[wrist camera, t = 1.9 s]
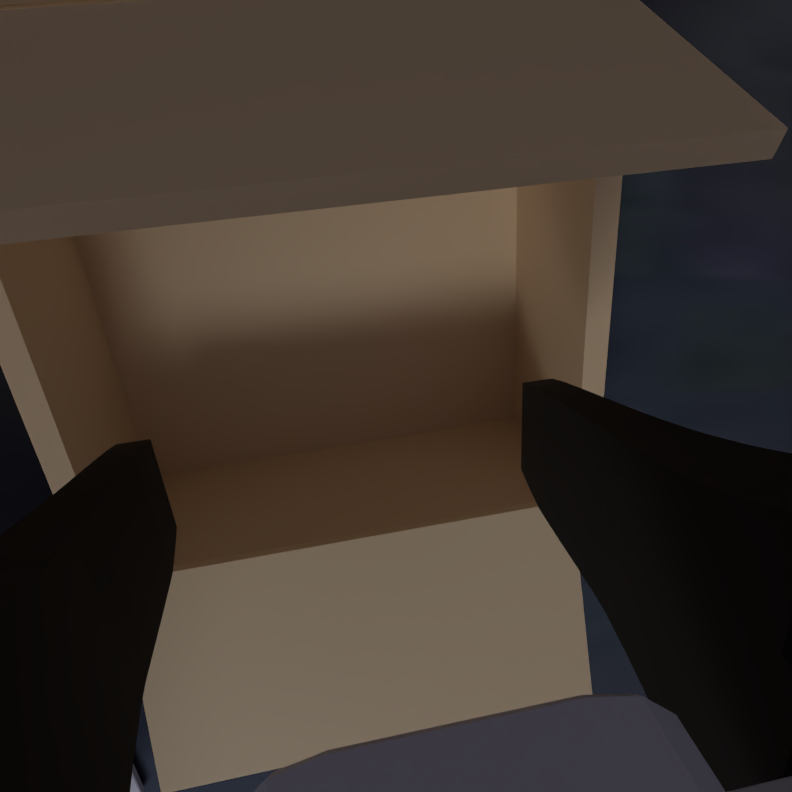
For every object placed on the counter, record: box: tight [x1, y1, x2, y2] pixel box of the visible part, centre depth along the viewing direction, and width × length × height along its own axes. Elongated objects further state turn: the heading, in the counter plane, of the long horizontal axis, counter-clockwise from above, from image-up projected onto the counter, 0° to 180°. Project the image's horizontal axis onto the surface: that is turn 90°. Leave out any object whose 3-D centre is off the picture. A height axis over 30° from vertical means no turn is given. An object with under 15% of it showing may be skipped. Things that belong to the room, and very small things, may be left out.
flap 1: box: [0, 0, 788, 245], centre depth 9 cm, size 6×11×1 cm
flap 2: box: [142, 502, 592, 792], centre depth 16 cm, size 6×11×1 cm, turn 94°
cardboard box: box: [0, 0, 622, 566], centre depth 15 cm, size 13×13×5 cm
